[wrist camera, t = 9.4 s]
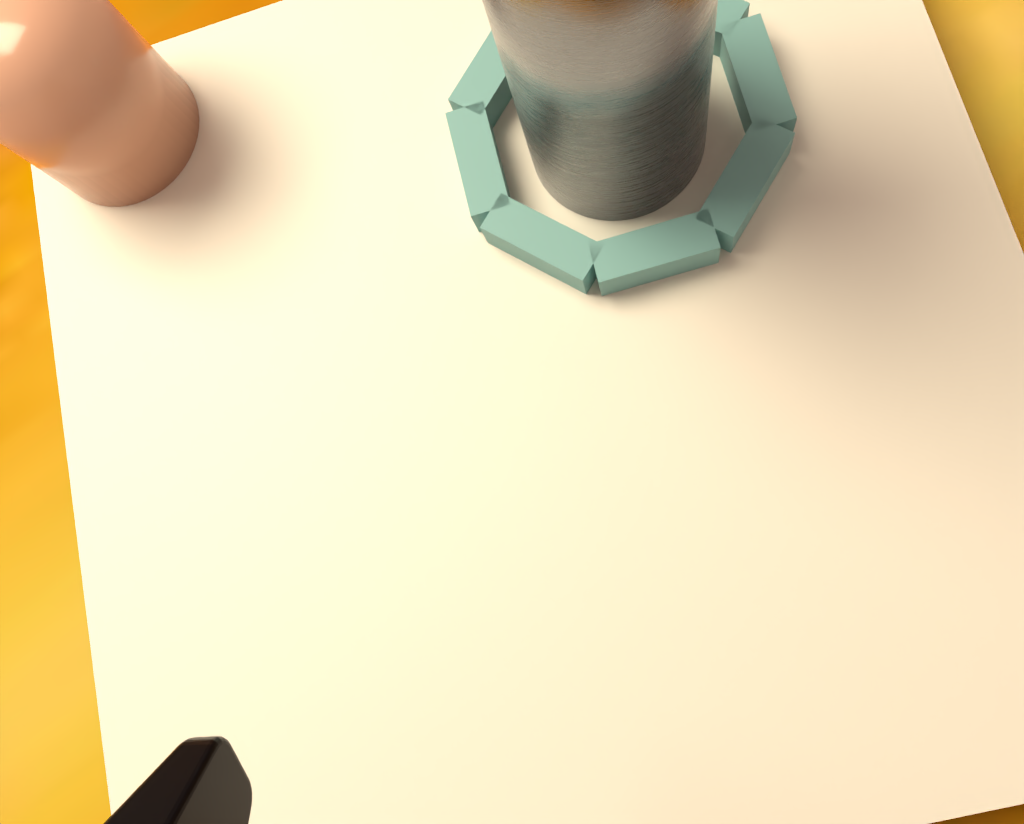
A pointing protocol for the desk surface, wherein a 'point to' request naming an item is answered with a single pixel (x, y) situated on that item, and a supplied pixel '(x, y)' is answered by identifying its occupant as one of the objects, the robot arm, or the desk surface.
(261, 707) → the board
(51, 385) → the desk surface
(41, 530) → the desk surface
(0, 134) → the peach rounded cylinder
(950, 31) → the desk surface
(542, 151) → the shiny metal cylinder
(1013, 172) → the desk surface
